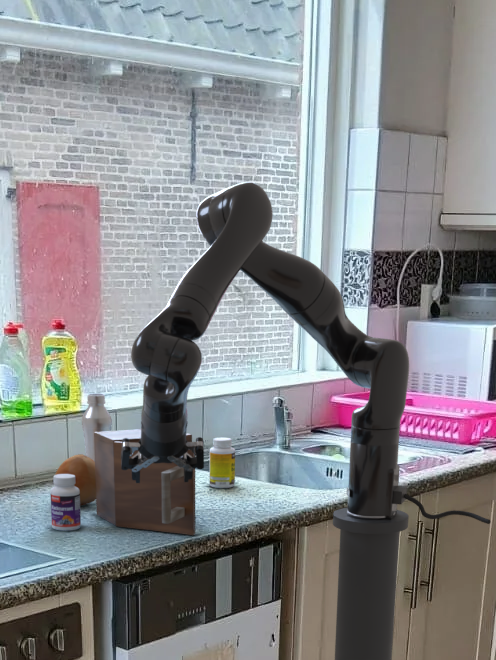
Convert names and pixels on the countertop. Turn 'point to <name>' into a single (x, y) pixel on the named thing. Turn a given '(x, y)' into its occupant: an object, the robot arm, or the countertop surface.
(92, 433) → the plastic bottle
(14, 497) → the countertop surface
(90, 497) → the onion
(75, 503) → the pill bottle
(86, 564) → the countertop surface
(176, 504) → the door
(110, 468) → the cabinet
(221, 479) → the supplement bottle
